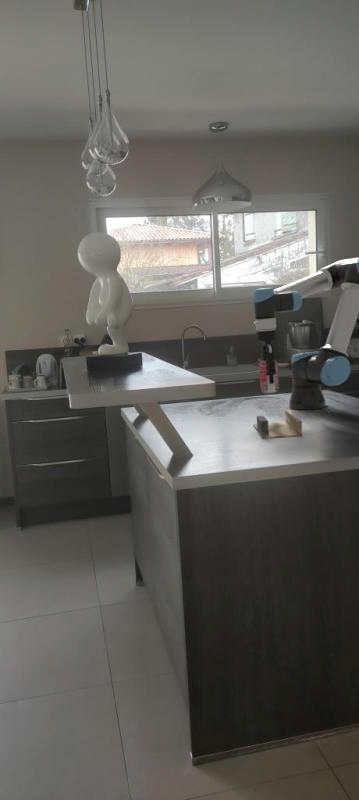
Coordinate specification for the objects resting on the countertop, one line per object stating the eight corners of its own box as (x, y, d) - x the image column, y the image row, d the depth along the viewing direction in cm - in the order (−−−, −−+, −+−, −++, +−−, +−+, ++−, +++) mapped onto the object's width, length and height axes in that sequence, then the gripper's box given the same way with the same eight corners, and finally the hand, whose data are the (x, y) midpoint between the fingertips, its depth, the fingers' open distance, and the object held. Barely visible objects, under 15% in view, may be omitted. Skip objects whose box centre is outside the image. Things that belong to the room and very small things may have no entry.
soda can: (278, 389, 224) (276, 359, 222) (280, 392, 217) (278, 360, 215) (260, 391, 224) (258, 360, 222) (261, 394, 217) (258, 362, 215)
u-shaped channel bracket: (289, 422, 217) (288, 408, 216) (302, 435, 196) (301, 419, 195) (253, 425, 217) (252, 411, 216) (262, 438, 195) (261, 422, 195)
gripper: (252, 329, 226) (256, 387, 230) (260, 332, 207) (264, 395, 211) (271, 328, 227) (275, 385, 230) (281, 330, 207) (285, 393, 211)
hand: (270, 390), depth 220 cm, fingers closed on soda can, 7 cm apart
